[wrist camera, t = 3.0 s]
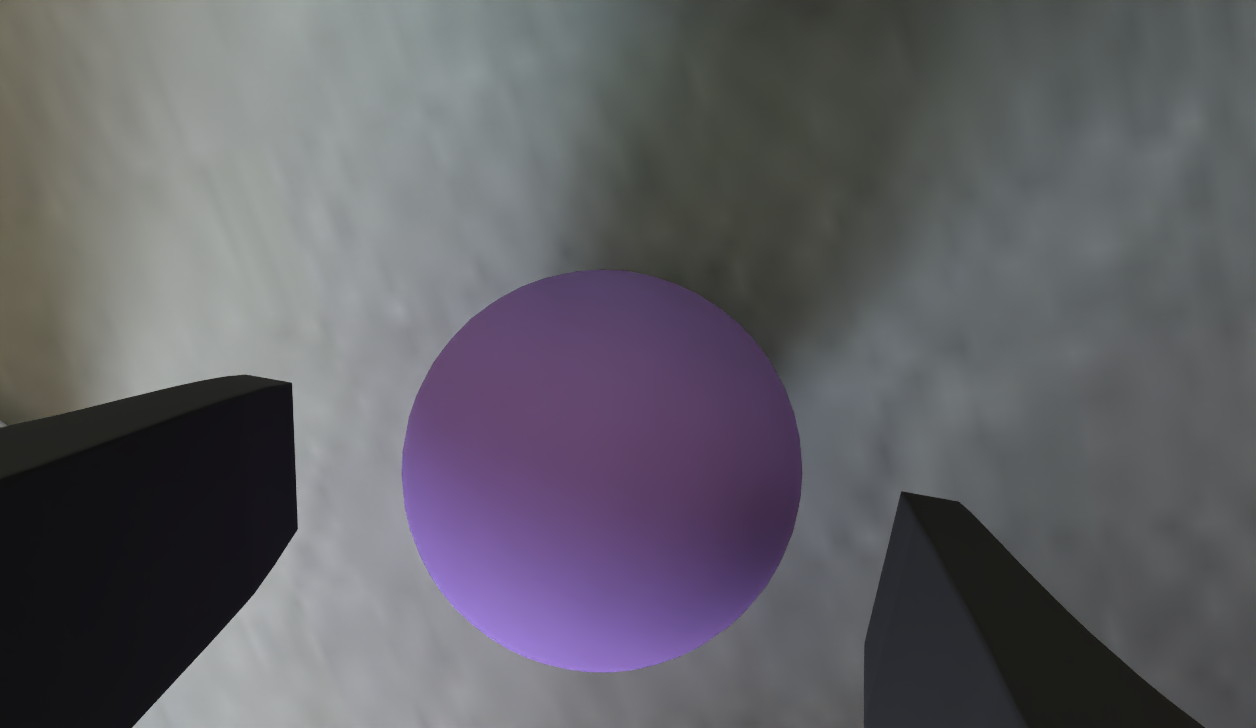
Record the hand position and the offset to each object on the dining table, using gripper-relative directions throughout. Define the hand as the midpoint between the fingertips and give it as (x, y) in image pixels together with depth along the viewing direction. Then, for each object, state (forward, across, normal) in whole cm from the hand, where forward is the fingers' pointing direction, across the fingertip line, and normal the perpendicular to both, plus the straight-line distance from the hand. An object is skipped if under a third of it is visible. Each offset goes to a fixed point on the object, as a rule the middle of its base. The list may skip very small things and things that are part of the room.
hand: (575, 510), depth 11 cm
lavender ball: (+1, 0, 0) cm, 1 cm away
